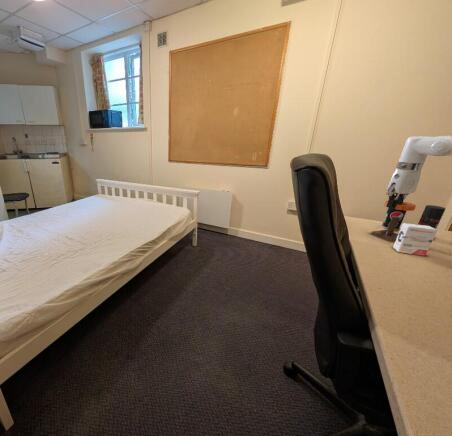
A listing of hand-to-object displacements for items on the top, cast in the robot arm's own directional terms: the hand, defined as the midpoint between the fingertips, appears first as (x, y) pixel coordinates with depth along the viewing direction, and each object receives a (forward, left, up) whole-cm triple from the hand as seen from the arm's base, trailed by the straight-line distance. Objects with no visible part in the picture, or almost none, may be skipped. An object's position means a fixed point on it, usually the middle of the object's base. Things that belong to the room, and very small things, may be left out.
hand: (393, 207), depth 100 cm
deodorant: (-3, -21, -16) cm, 26 cm away
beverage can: (+8, -17, -16) cm, 24 cm away
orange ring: (0, -4, 0) cm, 4 cm away
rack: (0, -4, -15) cm, 16 cm away
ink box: (-13, +4, -16) cm, 21 cm away
